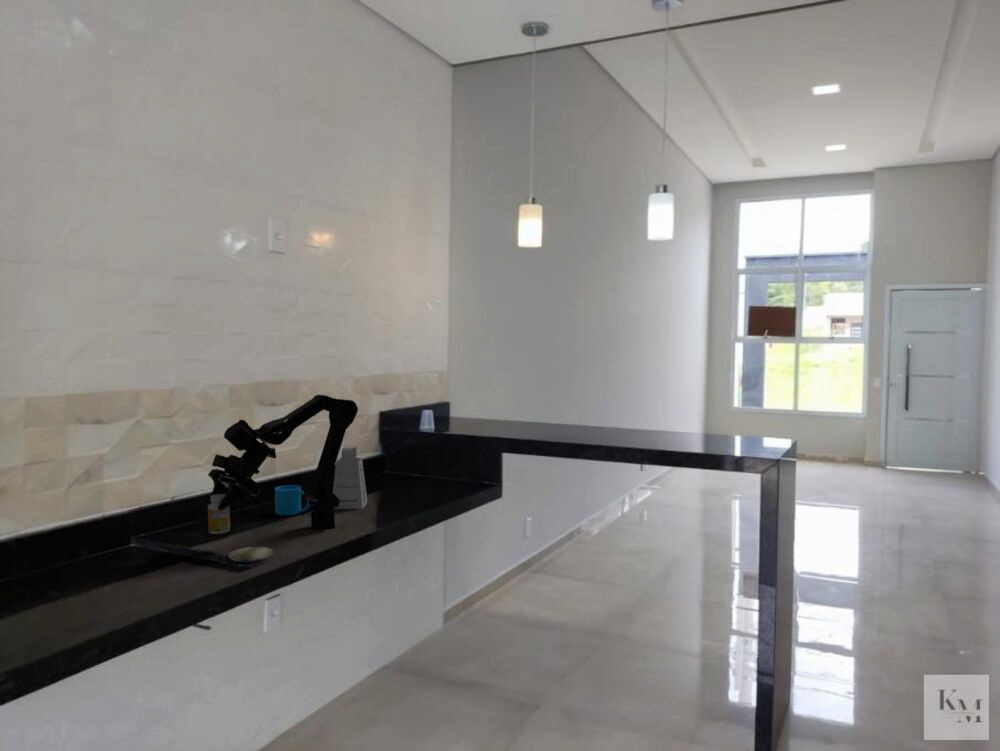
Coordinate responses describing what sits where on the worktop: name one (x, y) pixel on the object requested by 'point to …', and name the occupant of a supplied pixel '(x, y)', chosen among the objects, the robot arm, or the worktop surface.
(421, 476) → the worktop surface
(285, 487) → the mug
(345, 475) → the grater
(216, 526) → the supplement bottle
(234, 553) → the oak coaster
